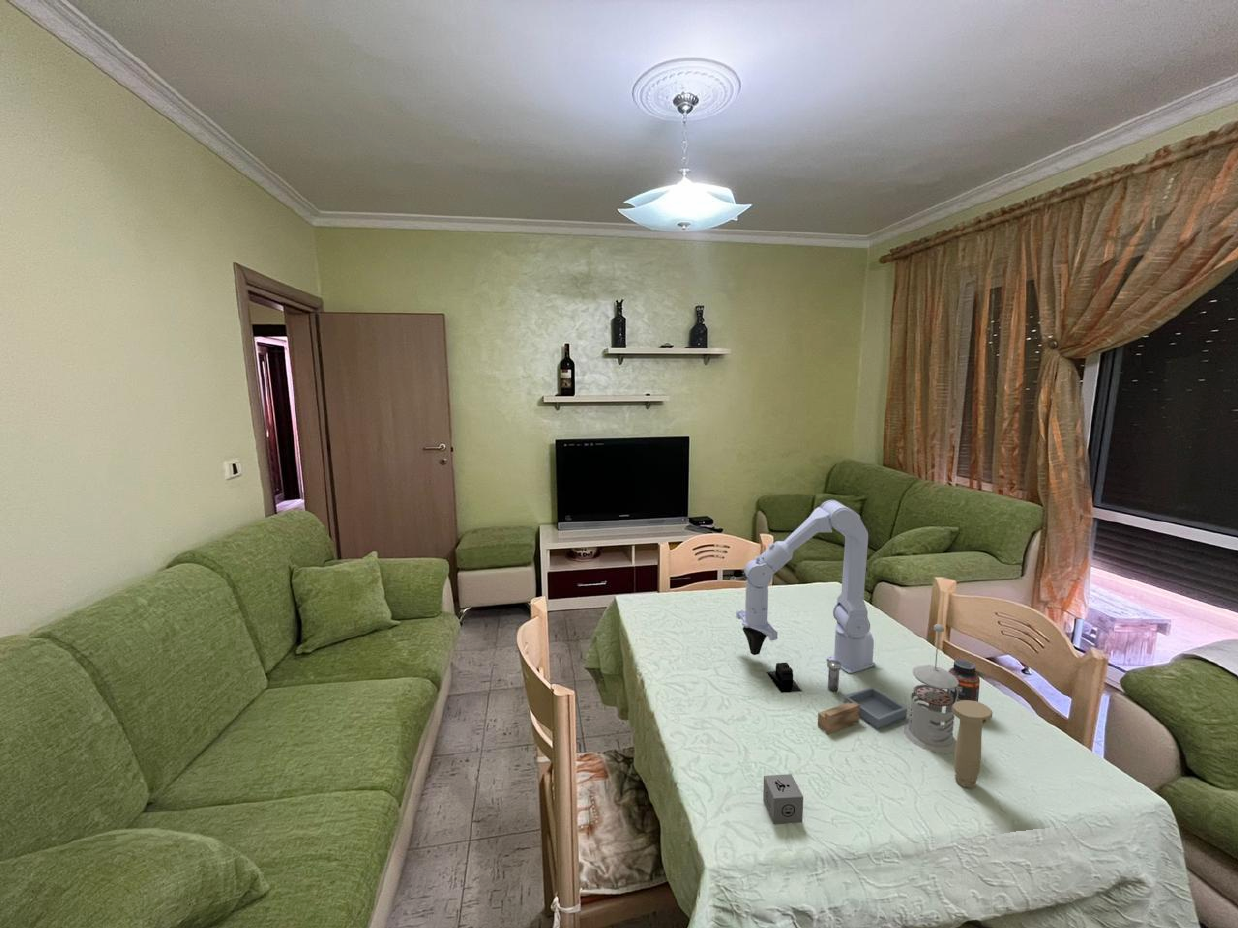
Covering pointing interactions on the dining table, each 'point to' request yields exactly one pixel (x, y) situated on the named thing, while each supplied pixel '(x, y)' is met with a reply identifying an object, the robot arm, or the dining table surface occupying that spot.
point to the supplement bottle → (965, 681)
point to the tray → (877, 708)
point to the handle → (969, 740)
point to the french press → (932, 708)
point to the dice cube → (783, 799)
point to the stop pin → (833, 675)
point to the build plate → (784, 678)
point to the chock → (839, 717)
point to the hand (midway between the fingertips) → (755, 653)
